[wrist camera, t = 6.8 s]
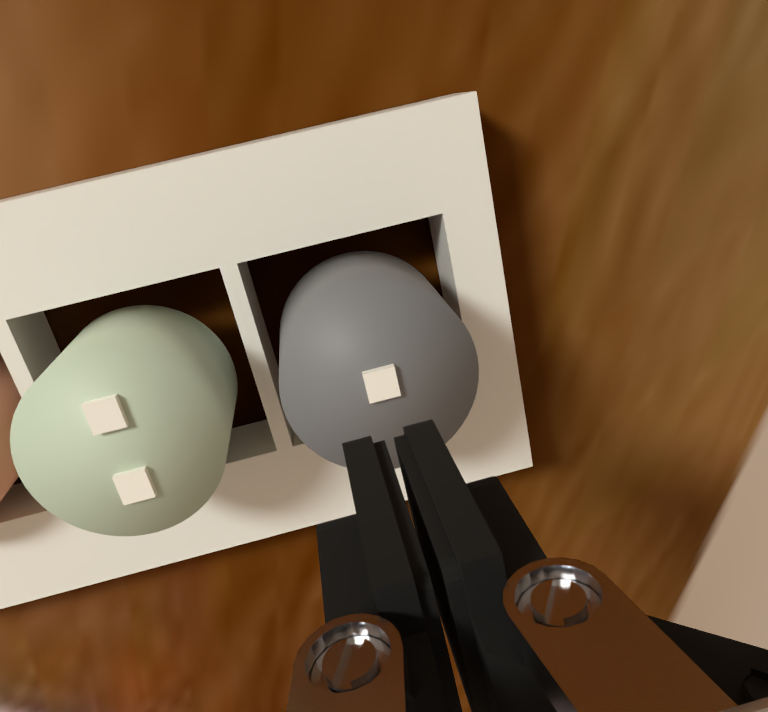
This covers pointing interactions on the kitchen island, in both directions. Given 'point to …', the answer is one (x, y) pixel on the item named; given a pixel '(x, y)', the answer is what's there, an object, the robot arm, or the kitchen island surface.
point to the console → (255, 310)
